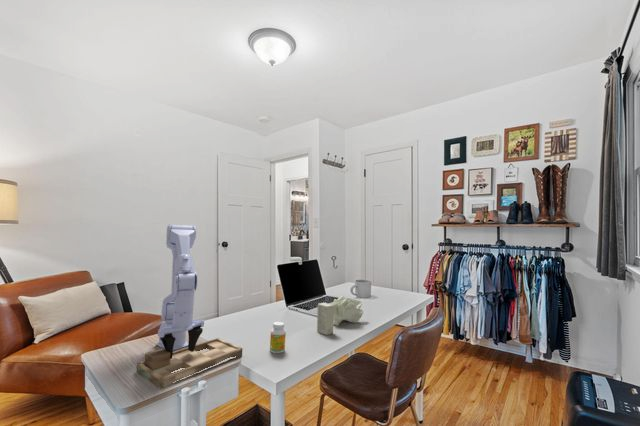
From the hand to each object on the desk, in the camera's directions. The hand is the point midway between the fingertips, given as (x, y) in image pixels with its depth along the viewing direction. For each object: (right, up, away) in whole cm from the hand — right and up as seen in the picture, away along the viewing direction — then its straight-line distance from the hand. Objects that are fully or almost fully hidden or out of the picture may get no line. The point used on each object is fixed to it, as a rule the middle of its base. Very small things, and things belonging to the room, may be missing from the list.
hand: (180, 354), depth 97 cm
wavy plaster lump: (+56, -9, +52) cm, 77 cm away
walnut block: (-4, -1, -6) cm, 7 cm away
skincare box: (+46, -7, +36) cm, 59 cm away
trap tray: (+4, -3, +1) cm, 5 cm away
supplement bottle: (+29, -5, +14) cm, 33 cm away
